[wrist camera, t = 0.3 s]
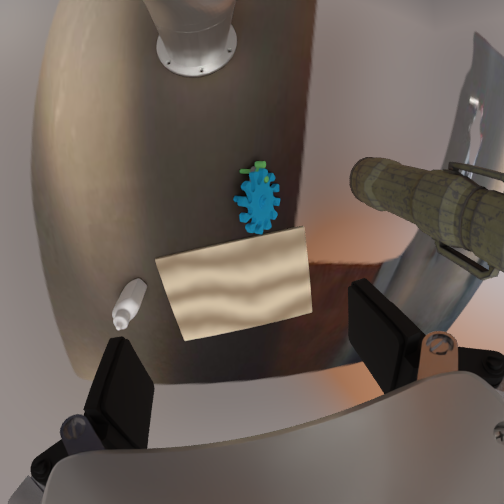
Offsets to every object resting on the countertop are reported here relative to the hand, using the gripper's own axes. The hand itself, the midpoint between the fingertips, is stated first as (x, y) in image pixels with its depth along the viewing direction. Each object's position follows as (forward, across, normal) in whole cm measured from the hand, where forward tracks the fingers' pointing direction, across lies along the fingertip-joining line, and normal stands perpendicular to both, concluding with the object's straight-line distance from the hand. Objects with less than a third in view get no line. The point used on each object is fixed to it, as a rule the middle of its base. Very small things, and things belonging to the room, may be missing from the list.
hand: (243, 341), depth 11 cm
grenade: (+36, -27, +3) cm, 45 cm away
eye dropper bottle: (+36, +19, +13) cm, 43 cm away
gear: (+36, -6, +1) cm, 37 cm away
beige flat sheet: (+36, 0, +17) cm, 40 cm away
